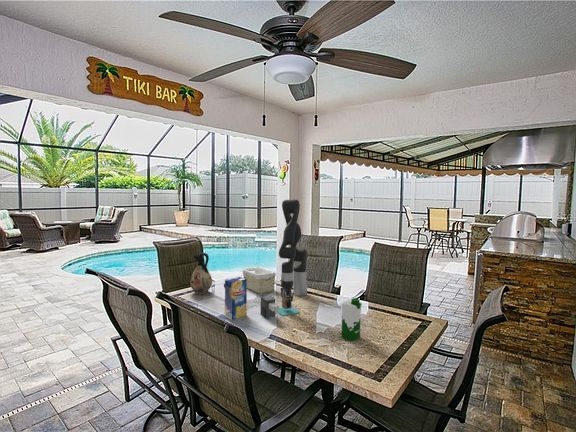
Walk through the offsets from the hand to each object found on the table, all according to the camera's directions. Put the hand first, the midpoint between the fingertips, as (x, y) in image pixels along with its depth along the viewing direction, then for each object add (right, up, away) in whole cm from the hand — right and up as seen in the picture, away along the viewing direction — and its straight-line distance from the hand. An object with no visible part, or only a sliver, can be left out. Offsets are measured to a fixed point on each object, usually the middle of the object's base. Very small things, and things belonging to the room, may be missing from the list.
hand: (286, 306), depth 204 cm
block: (0, -1, 0) cm, 1 cm away
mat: (0, -3, 0) cm, 3 cm away
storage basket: (-22, 0, +47) cm, 52 cm away
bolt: (-10, +3, -11) cm, 15 cm away
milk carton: (+33, -6, -36) cm, 49 cm away
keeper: (-11, -4, -7) cm, 14 cm away
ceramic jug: (-62, 0, +36) cm, 72 cm away
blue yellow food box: (-30, -4, -8) cm, 32 cm away
